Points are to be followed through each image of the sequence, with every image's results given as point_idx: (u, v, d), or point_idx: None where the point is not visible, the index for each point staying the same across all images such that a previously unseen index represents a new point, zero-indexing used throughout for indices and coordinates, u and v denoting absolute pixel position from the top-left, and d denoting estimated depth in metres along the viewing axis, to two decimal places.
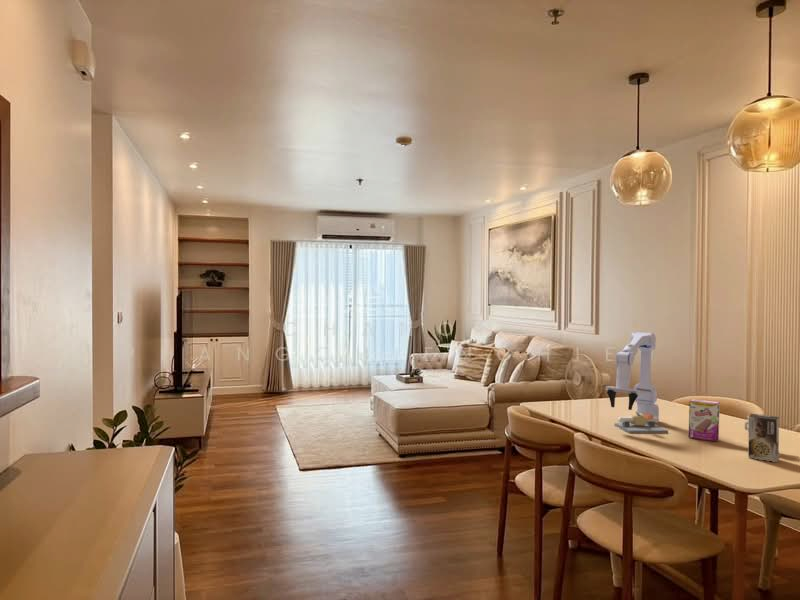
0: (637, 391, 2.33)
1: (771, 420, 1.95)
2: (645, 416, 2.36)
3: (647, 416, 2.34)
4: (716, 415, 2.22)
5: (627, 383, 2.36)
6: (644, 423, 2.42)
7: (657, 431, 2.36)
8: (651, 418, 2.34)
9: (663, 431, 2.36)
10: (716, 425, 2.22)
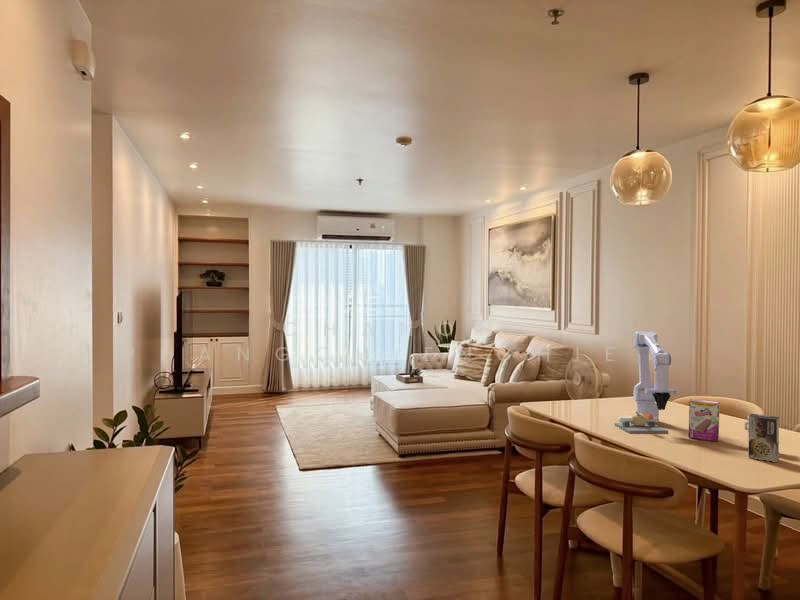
0: (677, 391, 2.36)
1: (771, 420, 1.95)
2: (645, 416, 2.36)
3: (647, 416, 2.34)
4: (716, 415, 2.22)
5: (668, 384, 2.35)
6: (644, 423, 2.42)
7: (657, 431, 2.36)
8: (651, 418, 2.34)
9: (663, 431, 2.36)
10: (716, 425, 2.22)
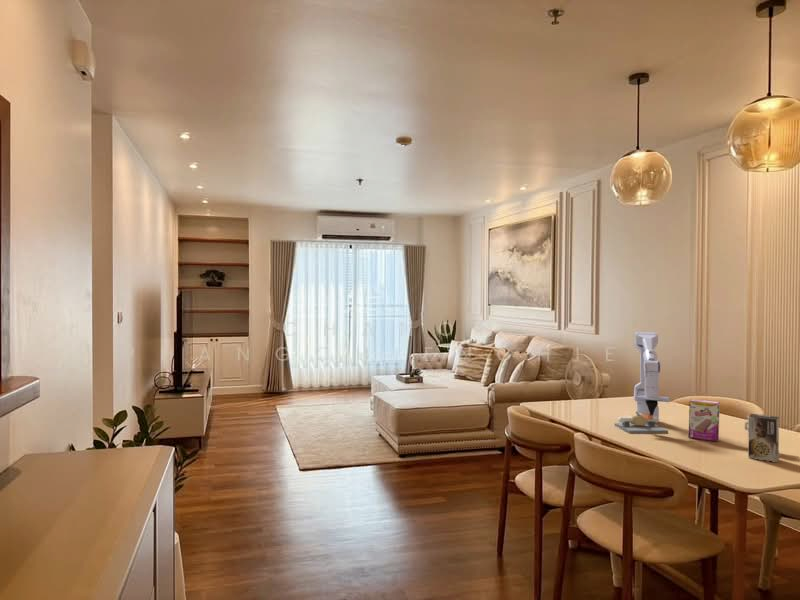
0: (668, 399, 2.34)
1: (771, 420, 1.95)
2: (645, 416, 2.36)
3: (647, 416, 2.34)
4: (716, 415, 2.22)
5: (658, 392, 2.35)
6: (644, 423, 2.42)
7: (657, 431, 2.36)
8: (651, 418, 2.34)
9: (663, 431, 2.36)
10: (716, 425, 2.22)
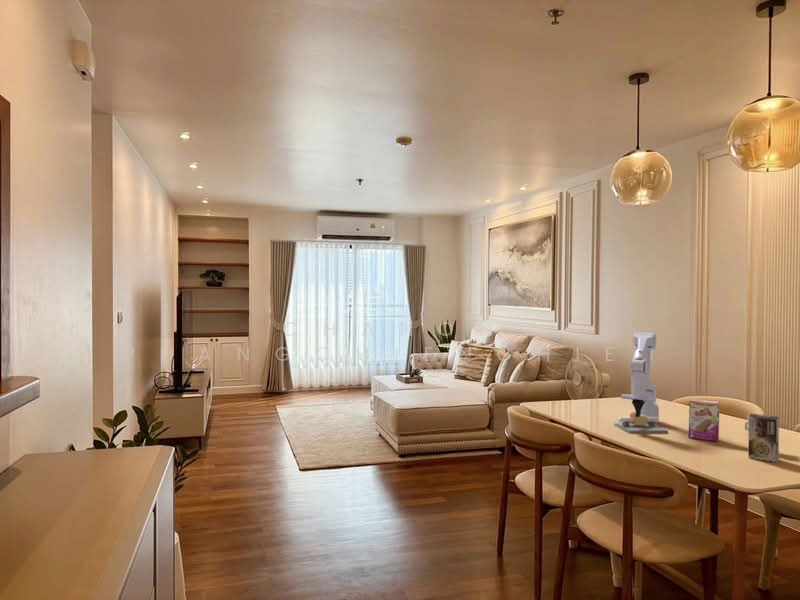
0: (653, 400, 2.32)
1: (771, 420, 1.95)
2: None
3: None
4: (716, 415, 2.22)
5: (642, 392, 2.35)
6: (644, 423, 2.42)
7: (657, 431, 2.36)
8: (633, 417, 2.36)
9: (663, 431, 2.36)
10: (716, 425, 2.22)
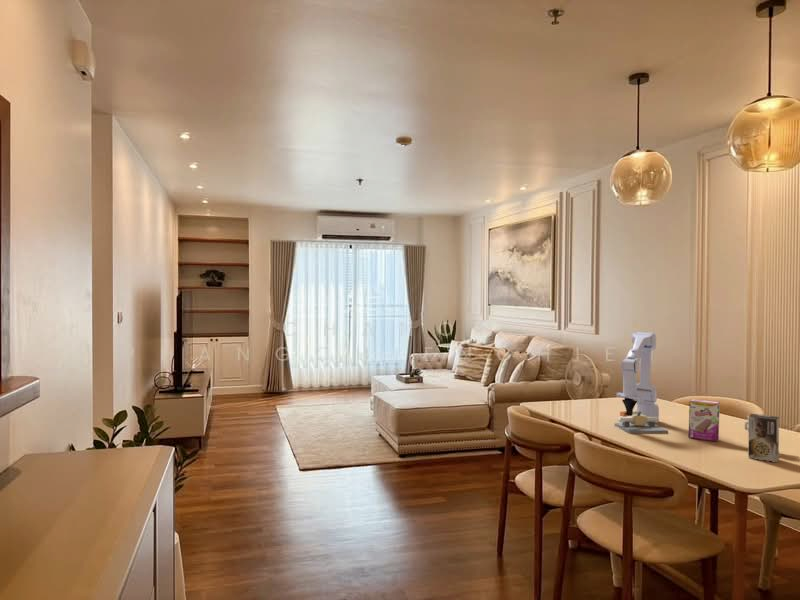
0: (639, 399, 2.33)
1: (771, 420, 1.95)
2: None
3: None
4: (716, 415, 2.22)
5: (631, 391, 2.37)
6: (644, 423, 2.42)
7: (657, 431, 2.36)
8: (622, 415, 2.39)
9: (663, 431, 2.36)
10: (716, 425, 2.22)
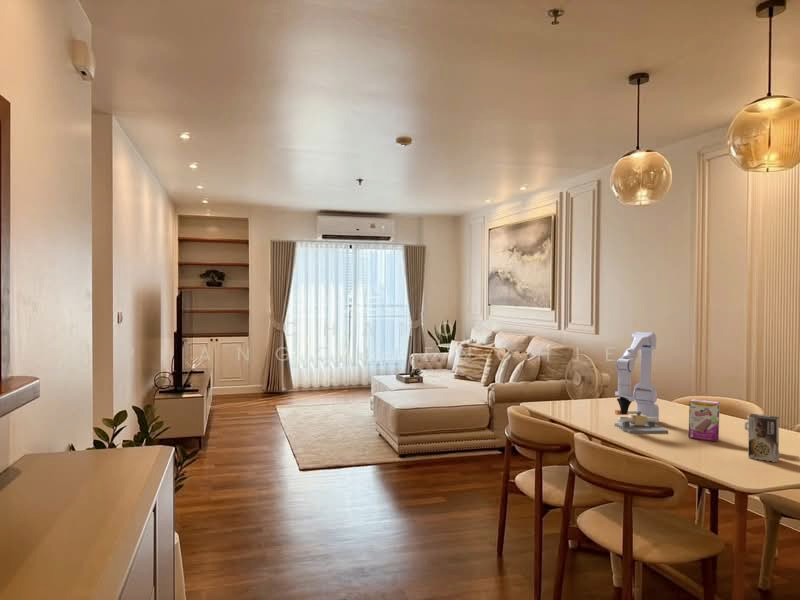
0: (629, 398, 2.35)
1: (771, 420, 1.95)
2: None
3: None
4: (716, 415, 2.22)
5: (624, 390, 2.40)
6: (644, 423, 2.42)
7: (657, 431, 2.36)
8: (616, 413, 2.43)
9: (663, 431, 2.36)
10: (716, 425, 2.22)
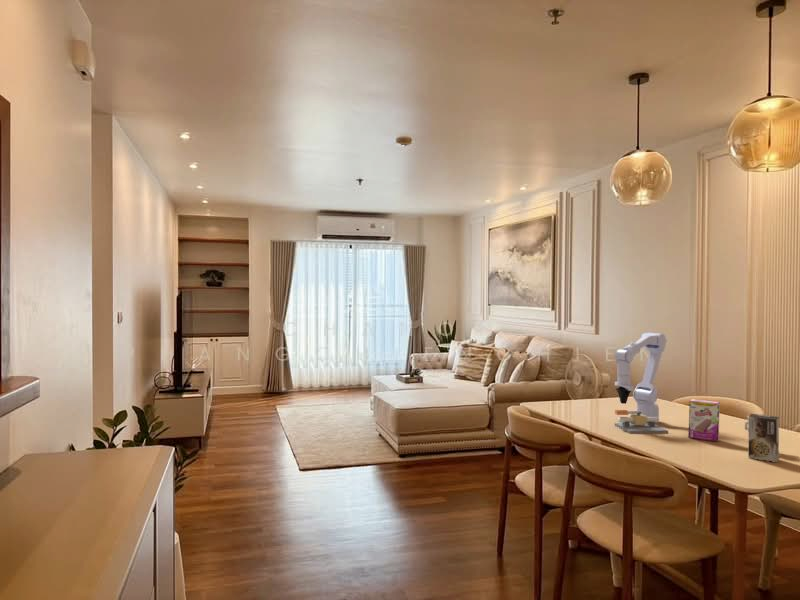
0: (628, 387, 2.44)
1: (771, 420, 1.95)
2: None
3: None
4: (716, 415, 2.22)
5: (623, 380, 2.48)
6: (644, 423, 2.42)
7: (657, 431, 2.36)
8: (616, 413, 2.43)
9: (663, 431, 2.36)
10: (716, 425, 2.22)
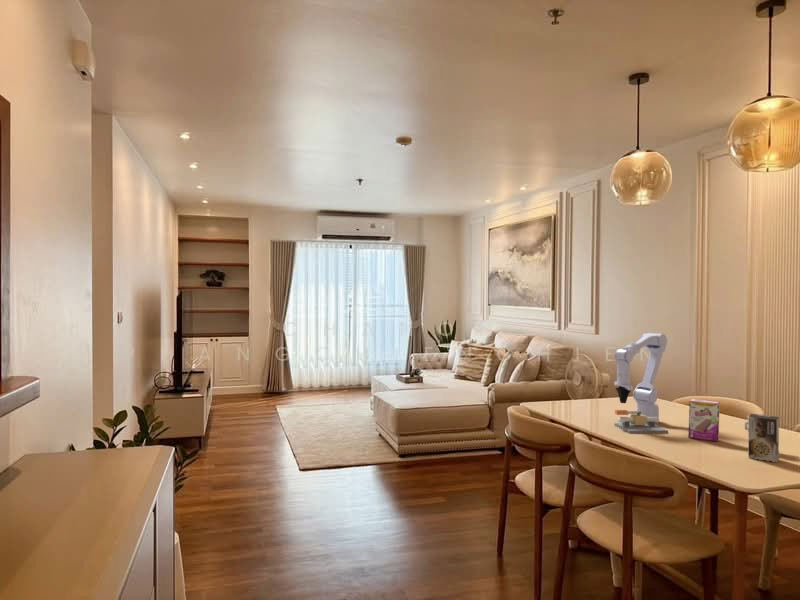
0: (628, 387, 2.44)
1: (771, 420, 1.95)
2: None
3: None
4: (716, 415, 2.22)
5: (623, 379, 2.49)
6: (644, 423, 2.42)
7: (657, 431, 2.36)
8: (616, 413, 2.43)
9: (663, 431, 2.36)
10: (716, 425, 2.22)
